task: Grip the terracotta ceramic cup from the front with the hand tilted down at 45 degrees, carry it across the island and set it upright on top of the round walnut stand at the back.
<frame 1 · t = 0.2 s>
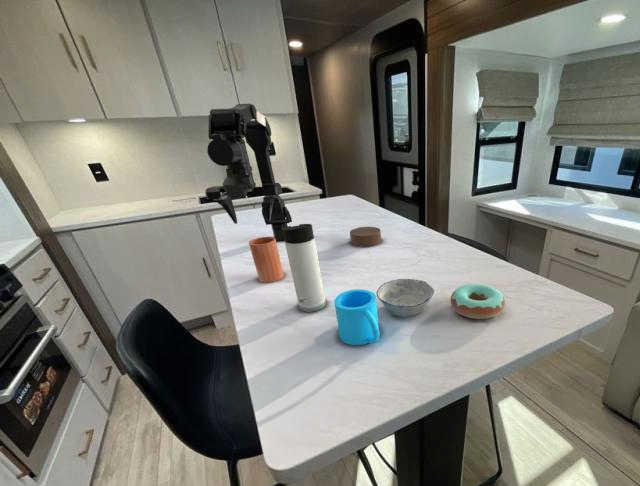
hand: (252, 222, 92), 14 cm above the table, tool pointing down, fingers open, 9 cm apart
stand: (366, 241, 116), on the table
mug: (363, 338, 65), on the table
bowl: (405, 308, 75), on the table
donut: (476, 309, 73), on the table
cup: (271, 277, 92), on the table
travel mug: (313, 306, 77), on the table
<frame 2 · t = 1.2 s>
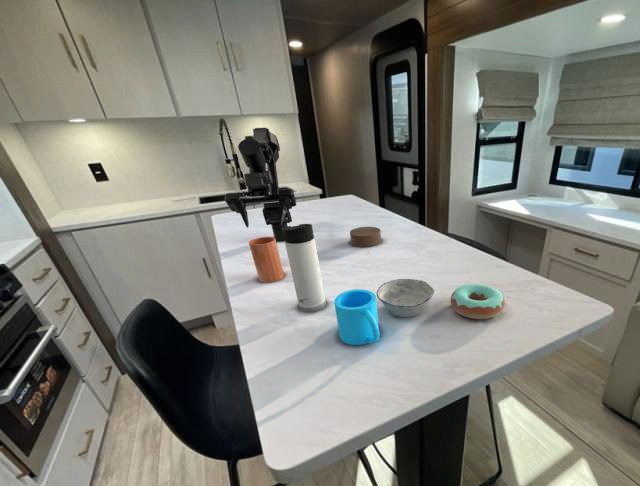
hand: (264, 225, 92), 13 cm above the table, tool tilted 45°, fingers open, 9 cm apart
nothing on the table moved.
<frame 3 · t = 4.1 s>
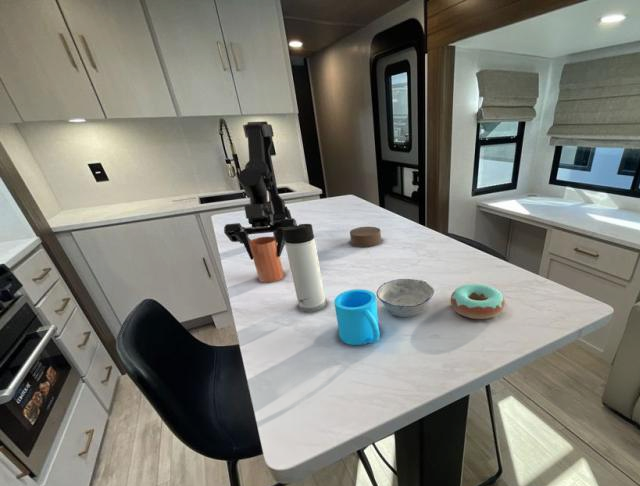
hand: (265, 257, 88), 7 cm above the table, tool tilted 45°, fingers closed on cup, 7 cm apart
cup: (271, 277, 92), on the table, touching gripper
everything else where it was.
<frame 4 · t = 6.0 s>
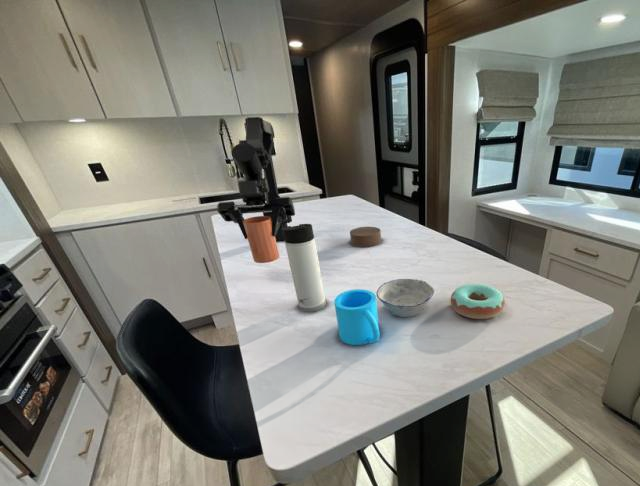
hand: (259, 237, 85), 12 cm above the table, tool tilted 45°, fingers closed on cup, 7 cm apart
cup: (266, 258, 89), point 6 cm above the table, touching gripper
everything else where it was.
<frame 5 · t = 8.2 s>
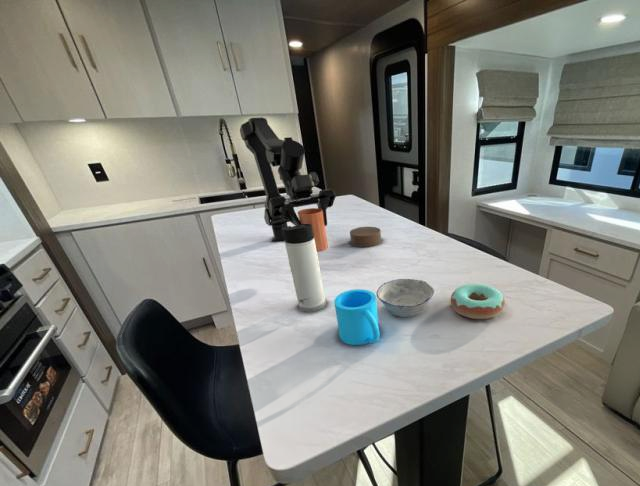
hand: (314, 227, 91), 12 cm above the table, tool tilted 45°, fingers closed on cup, 7 cm apart
cup: (316, 248, 95), point 6 cm above the table, touching gripper
everything else where it was.
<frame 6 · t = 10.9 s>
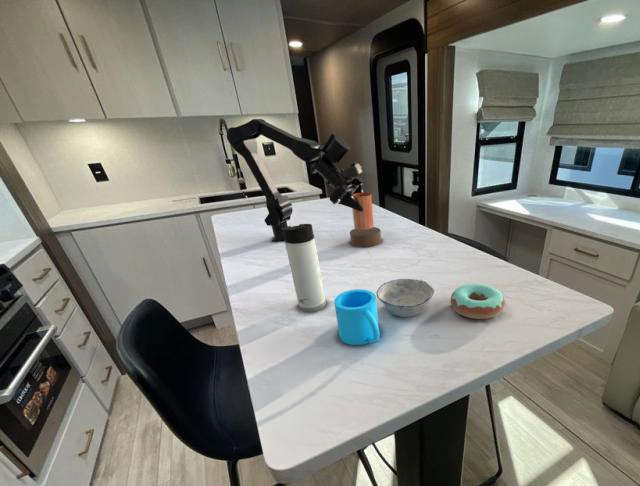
hand: (365, 208, 109), 12 cm above the table, tool tilted 45°, fingers closed on cup, 7 cm apart
cup: (364, 226, 112), point 6 cm above the table, touching gripper
everything else where it was.
when the fingers open (11 cm above the table, at t = 12.8 s): cup stays where it is, resting on stand.
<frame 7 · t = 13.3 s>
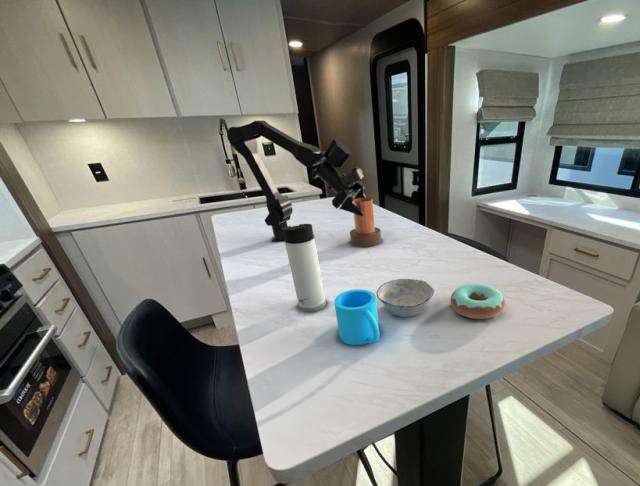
hand: (367, 211, 110), 11 cm above the table, tool tilted 45°, fingers open, 9 cm apart
cup: (365, 231, 114), point 4 cm above the table, touching stand
everything else where it was.
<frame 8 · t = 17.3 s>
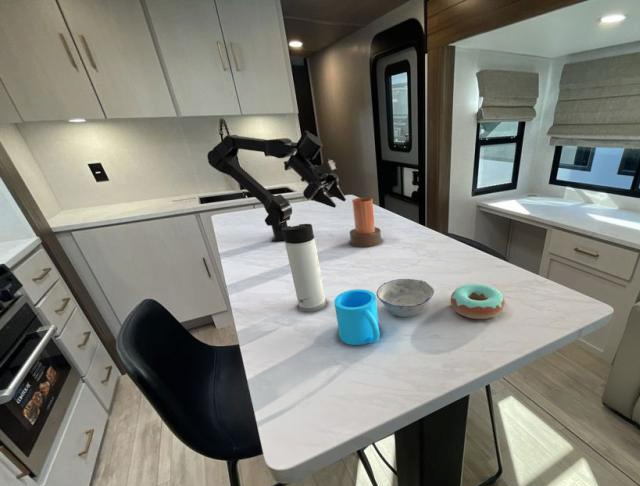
hand: (340, 203, 111), 14 cm above the table, tool tilted 45°, fingers open, 9 cm apart
nothing on the table moved.
at the end: cup 0.0 cm off-centre on the stand, point 4.0 cm above the stand's base; cup tilted 0°; the gripper is holding nothing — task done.
